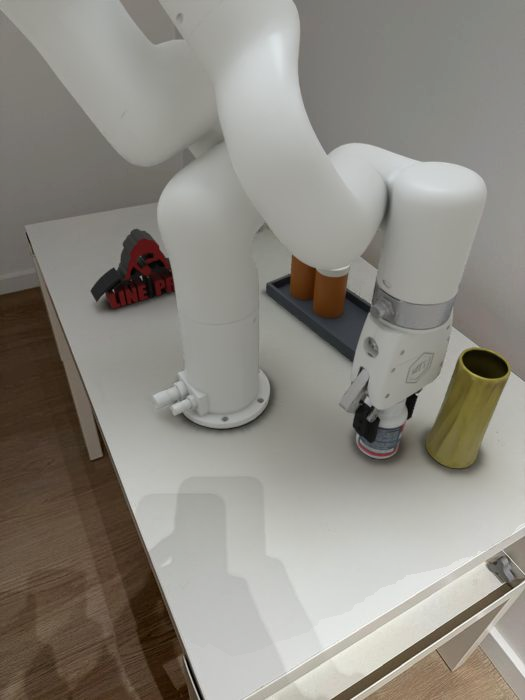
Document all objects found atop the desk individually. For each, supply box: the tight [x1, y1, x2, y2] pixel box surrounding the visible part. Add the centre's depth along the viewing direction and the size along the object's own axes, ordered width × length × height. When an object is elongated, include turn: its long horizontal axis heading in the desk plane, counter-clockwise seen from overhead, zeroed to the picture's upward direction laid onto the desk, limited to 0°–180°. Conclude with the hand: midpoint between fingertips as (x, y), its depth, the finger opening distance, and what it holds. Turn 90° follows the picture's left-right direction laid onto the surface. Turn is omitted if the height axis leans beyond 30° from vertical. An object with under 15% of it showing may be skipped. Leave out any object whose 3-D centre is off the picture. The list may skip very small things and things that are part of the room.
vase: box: [425, 346, 512, 469], centre depth 58 cm, size 6×6×14 cm
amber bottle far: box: [290, 254, 316, 300], centre depth 84 cm, size 5×5×9 cm
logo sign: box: [90, 228, 175, 310], centre depth 84 cm, size 18×4×11 cm, turn 120°
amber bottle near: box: [313, 263, 352, 318], centre depth 81 cm, size 5×5×9 cm
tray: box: [265, 273, 371, 362], centre depth 83 cm, size 10×22×2 cm, turn 36°
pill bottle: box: [355, 396, 408, 460], centre depth 61 cm, size 5×5×9 cm
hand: (382, 422), depth 61 cm, fingers closed on pill bottle, 5 cm apart
